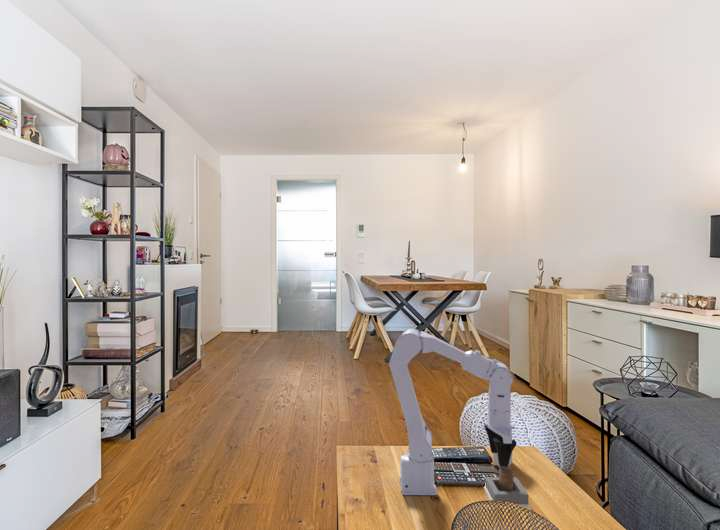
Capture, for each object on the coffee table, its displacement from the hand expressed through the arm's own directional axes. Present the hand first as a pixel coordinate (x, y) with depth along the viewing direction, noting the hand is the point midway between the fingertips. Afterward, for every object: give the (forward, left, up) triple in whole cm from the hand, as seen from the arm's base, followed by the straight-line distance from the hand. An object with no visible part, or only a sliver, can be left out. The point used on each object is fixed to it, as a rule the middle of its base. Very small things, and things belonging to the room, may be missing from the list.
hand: (499, 458), depth 115 cm
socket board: (+1, -2, -10) cm, 10 cm away
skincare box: (+6, +17, -10) cm, 21 cm away
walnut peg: (+1, -2, -9) cm, 9 cm away
